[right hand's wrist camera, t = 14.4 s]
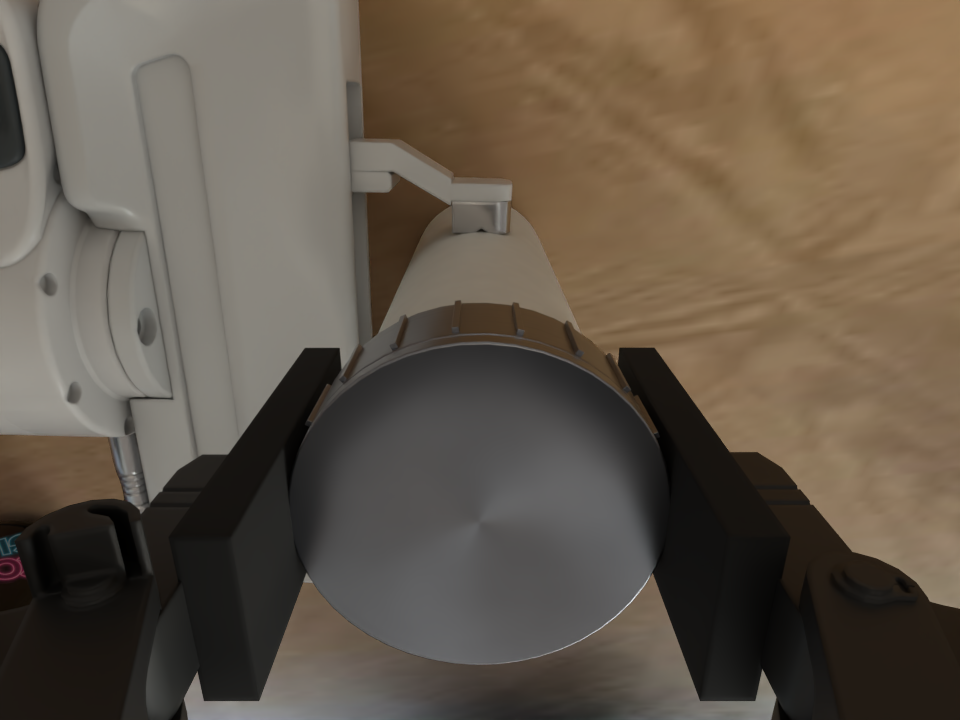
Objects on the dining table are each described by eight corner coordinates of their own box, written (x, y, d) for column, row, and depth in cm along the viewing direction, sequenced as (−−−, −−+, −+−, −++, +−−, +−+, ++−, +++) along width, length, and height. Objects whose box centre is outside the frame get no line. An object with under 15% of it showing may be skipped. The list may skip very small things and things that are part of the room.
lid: (623, 592, 13) (646, 673, 11) (323, 583, 13) (297, 662, 11) (667, 305, 11) (706, 346, 9) (304, 291, 11) (268, 330, 9)
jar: (413, 320, 28) (324, 611, 12) (418, 194, 26) (318, 337, 10) (536, 328, 28) (612, 627, 12) (550, 203, 26) (663, 361, 10)
